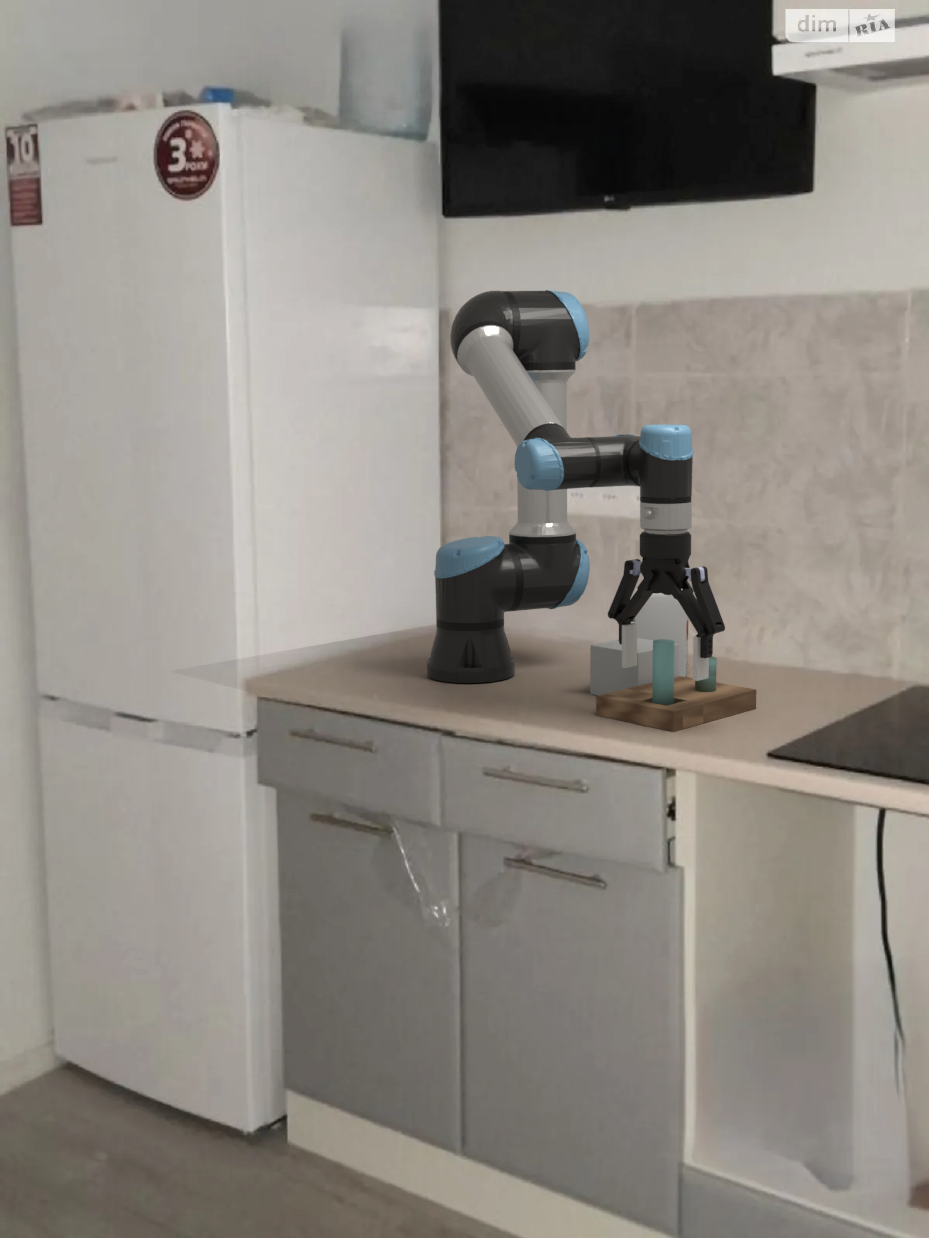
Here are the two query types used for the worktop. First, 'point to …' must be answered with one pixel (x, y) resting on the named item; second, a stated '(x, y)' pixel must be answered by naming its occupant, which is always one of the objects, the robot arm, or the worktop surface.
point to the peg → (663, 672)
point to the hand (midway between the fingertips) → (664, 673)
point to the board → (678, 703)
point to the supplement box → (665, 625)
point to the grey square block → (609, 666)
